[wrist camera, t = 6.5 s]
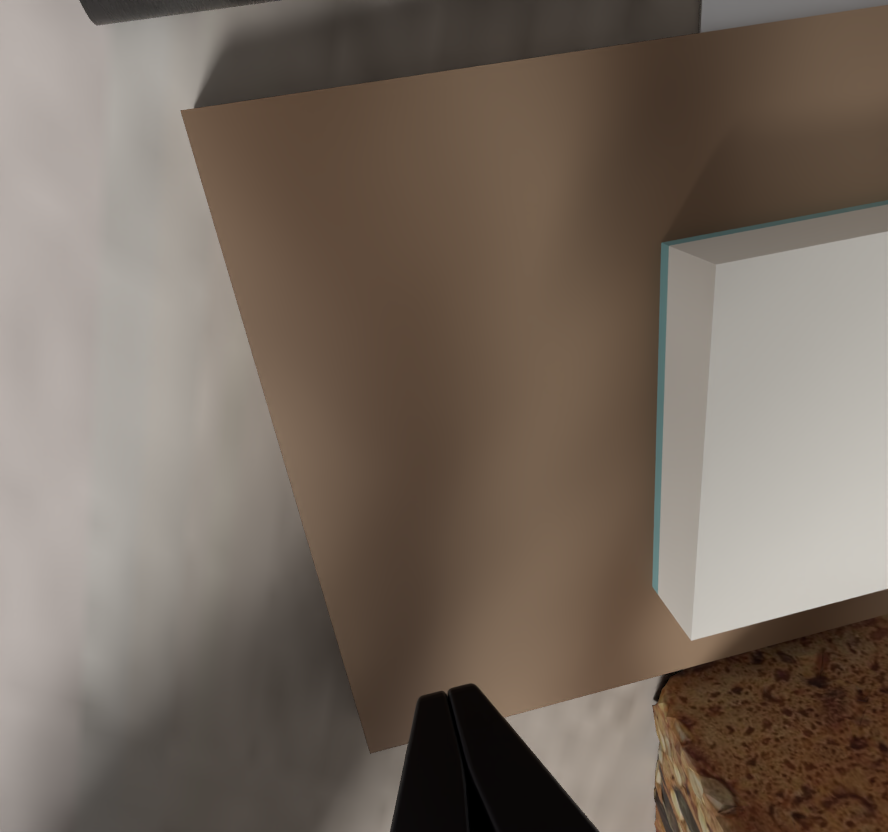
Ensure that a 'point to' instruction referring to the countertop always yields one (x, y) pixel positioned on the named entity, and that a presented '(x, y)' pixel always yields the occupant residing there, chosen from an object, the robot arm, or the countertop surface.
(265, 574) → the countertop surface
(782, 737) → the bread
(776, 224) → the tile
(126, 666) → the countertop surface
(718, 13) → the turner
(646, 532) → the board
